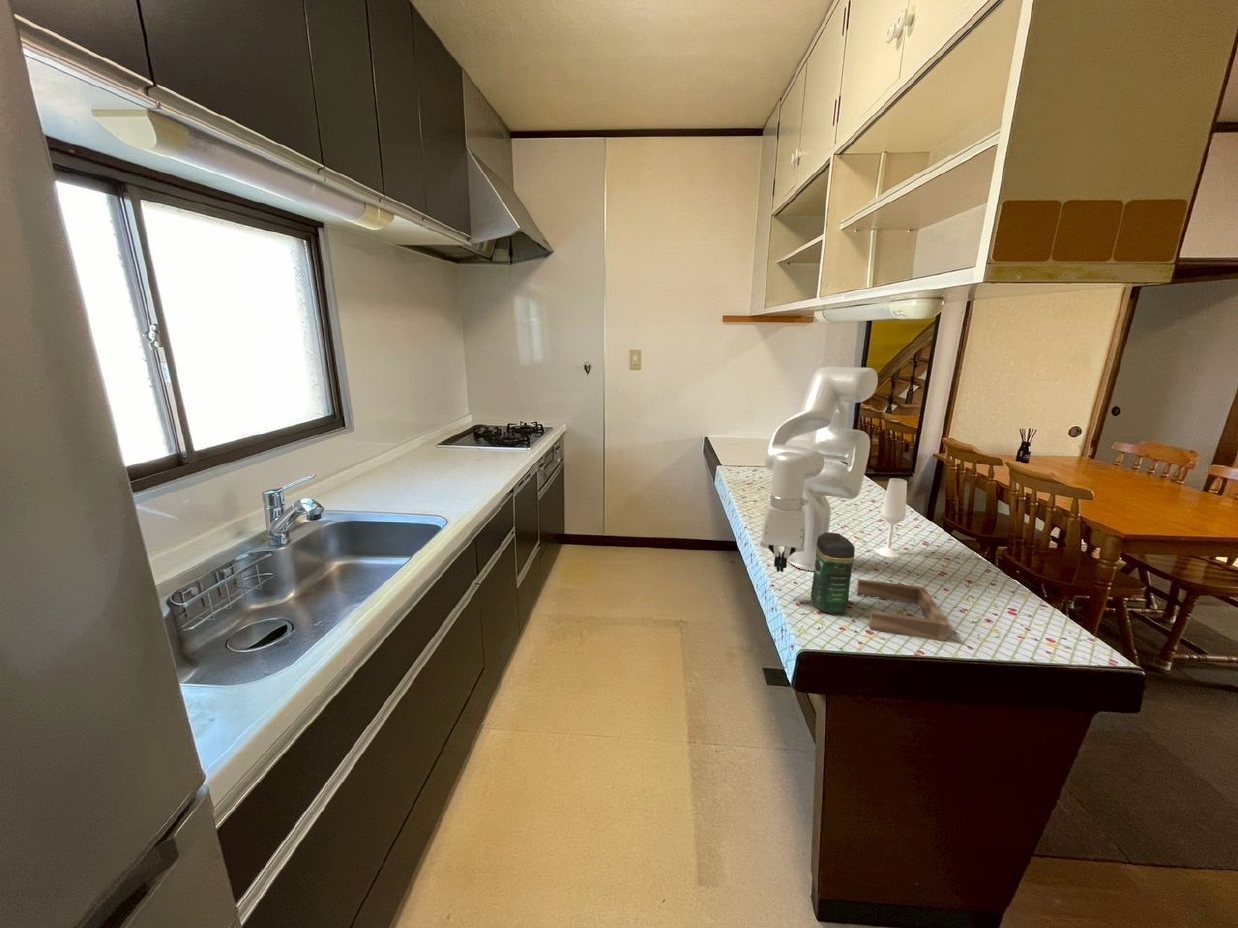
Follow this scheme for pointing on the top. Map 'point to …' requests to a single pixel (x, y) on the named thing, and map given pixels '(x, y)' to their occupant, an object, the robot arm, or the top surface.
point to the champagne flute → (893, 511)
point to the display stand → (901, 624)
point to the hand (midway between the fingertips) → (779, 569)
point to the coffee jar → (832, 573)
